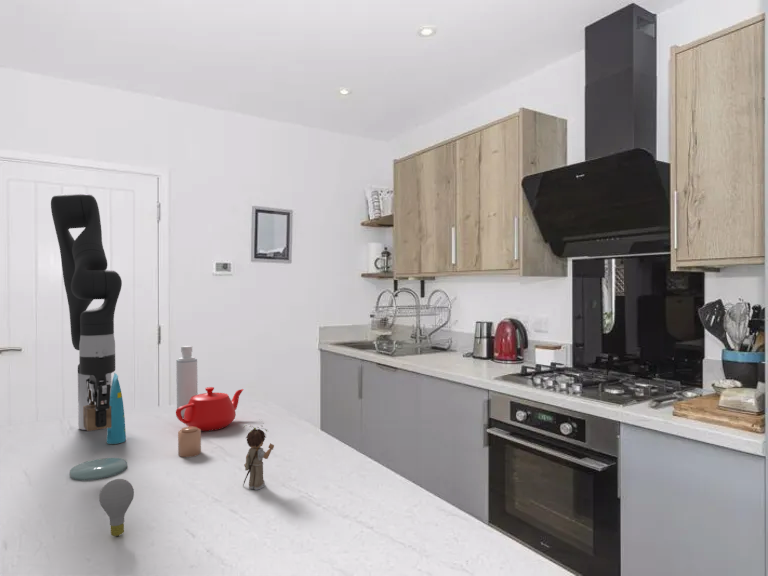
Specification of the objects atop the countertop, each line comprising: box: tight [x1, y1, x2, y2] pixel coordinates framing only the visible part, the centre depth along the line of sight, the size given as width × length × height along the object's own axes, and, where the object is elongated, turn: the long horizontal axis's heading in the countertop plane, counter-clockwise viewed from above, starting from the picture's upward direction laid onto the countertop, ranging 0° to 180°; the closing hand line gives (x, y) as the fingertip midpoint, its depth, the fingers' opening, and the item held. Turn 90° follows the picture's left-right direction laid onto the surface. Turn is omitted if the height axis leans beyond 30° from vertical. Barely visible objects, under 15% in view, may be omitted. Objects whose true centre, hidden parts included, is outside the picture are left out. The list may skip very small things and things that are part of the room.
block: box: [83, 403, 111, 432], centre depth 123 cm, size 5×5×5 cm
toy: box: [242, 419, 275, 491], centre depth 113 cm, size 6×6×15 cm
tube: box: [106, 372, 127, 445], centre depth 146 cm, size 7×5×19 cm, turn 39°
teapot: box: [175, 386, 244, 432], centre depth 162 cm, size 25×16×12 cm, turn 145°
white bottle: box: [175, 345, 199, 418], centre depth 175 cm, size 7×7×25 cm
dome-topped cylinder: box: [177, 426, 202, 458], centre depth 135 cm, size 6×6×7 cm
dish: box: [69, 457, 128, 481], centre depth 123 cm, size 12×12×1 cm
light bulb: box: [98, 478, 135, 538], centre depth 91 cm, size 6×5×10 cm
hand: (98, 423), depth 123 cm, fingers closed on block, 5 cm apart
